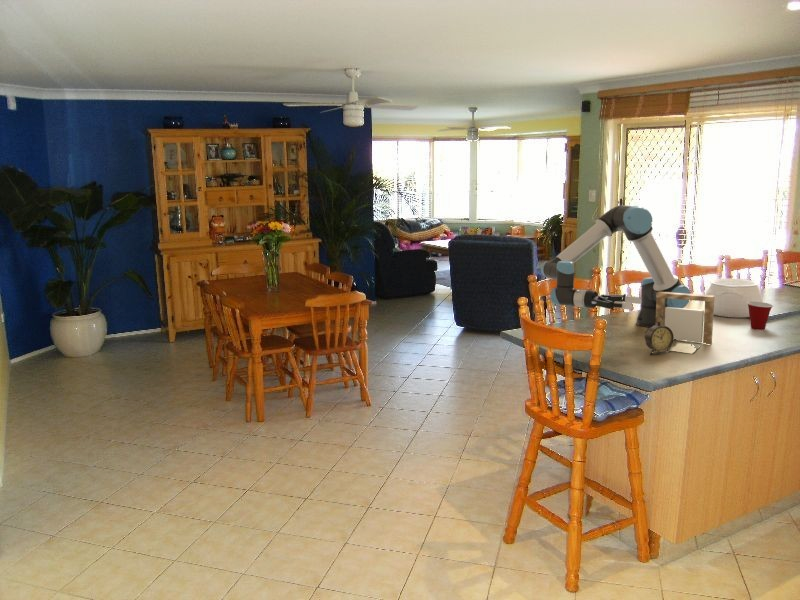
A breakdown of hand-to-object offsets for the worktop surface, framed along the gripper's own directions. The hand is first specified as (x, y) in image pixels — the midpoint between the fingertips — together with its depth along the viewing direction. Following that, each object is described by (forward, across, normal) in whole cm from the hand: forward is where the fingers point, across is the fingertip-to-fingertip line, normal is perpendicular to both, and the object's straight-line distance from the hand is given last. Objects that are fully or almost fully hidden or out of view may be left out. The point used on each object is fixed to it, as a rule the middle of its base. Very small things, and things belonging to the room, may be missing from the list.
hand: (635, 303), depth 285 cm
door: (+14, +24, +19) cm, 34 cm away
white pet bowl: (+22, +91, +20) cm, 96 cm away
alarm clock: (+10, 0, +20) cm, 23 cm away
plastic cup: (+38, +63, +20) cm, 76 cm away
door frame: (+14, +24, +20) cm, 34 cm away
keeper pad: (+18, +12, +20) cm, 29 cm away
